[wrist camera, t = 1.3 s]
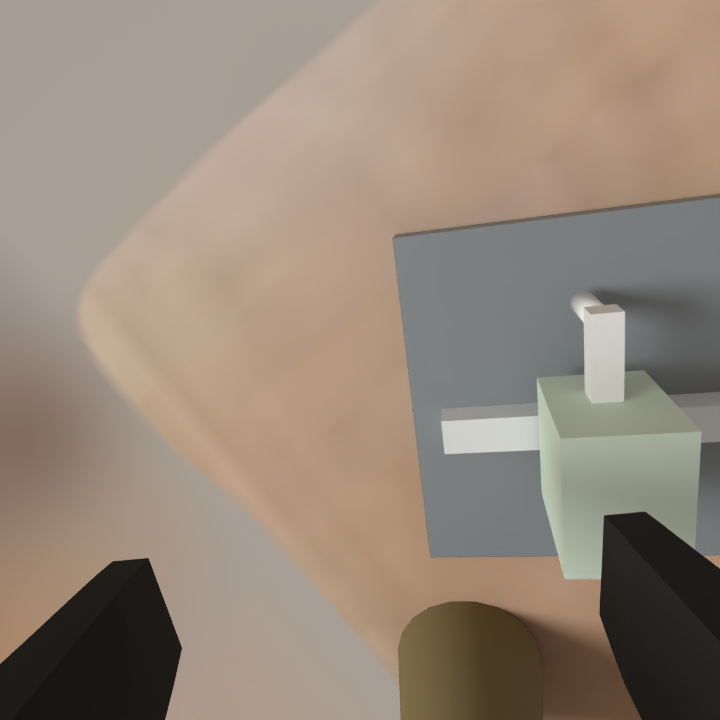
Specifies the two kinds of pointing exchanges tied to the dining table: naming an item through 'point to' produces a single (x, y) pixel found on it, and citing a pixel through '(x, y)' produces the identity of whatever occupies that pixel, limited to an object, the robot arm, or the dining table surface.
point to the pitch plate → (549, 353)
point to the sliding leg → (611, 446)
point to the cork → (469, 666)
